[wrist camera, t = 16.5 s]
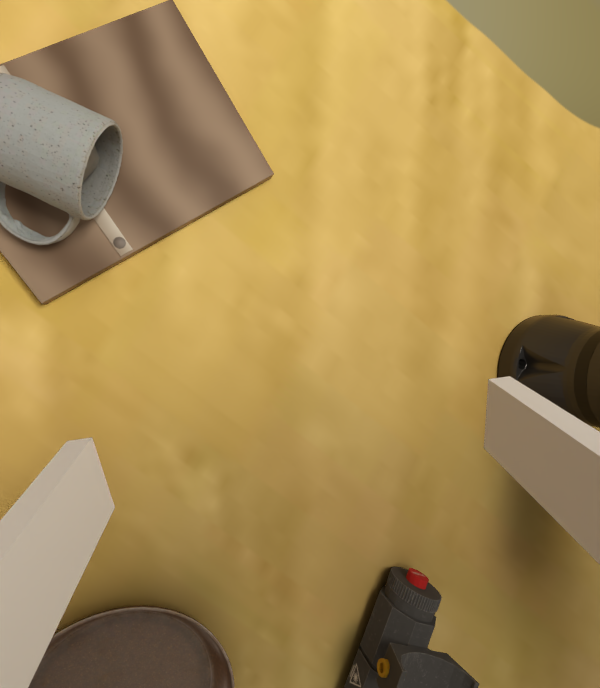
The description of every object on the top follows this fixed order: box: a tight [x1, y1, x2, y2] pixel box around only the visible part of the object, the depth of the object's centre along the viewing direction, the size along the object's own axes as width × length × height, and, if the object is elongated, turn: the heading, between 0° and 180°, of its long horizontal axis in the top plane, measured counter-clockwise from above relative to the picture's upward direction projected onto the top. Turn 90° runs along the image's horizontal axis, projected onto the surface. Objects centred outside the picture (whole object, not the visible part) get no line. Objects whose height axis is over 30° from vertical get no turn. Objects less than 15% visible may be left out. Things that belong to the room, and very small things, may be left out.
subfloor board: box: [0, 0, 274, 304], centre depth 33 cm, size 24×17×1 cm
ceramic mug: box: [0, 73, 123, 245], centre depth 28 cm, size 11×8×8 cm
